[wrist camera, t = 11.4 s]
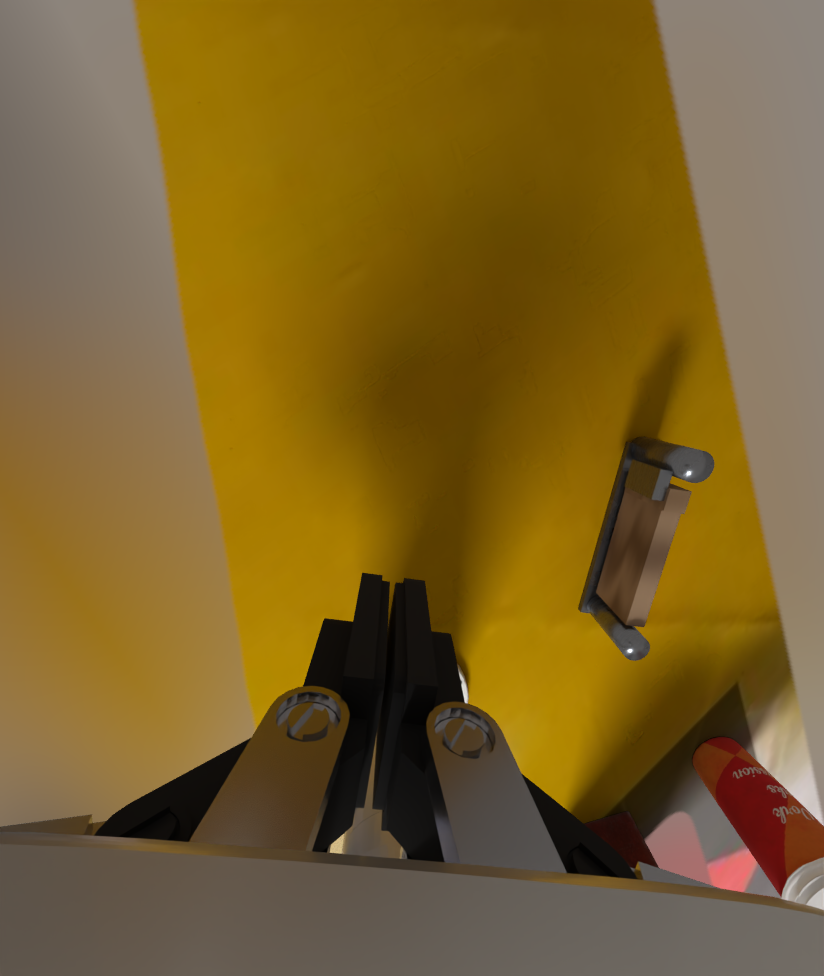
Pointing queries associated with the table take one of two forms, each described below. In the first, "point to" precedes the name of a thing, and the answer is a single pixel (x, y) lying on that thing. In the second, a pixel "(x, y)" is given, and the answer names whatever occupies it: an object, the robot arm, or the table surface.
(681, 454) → the gate posts
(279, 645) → the table surface
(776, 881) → the paper cup
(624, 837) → the vintage gas pump
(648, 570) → the gate
